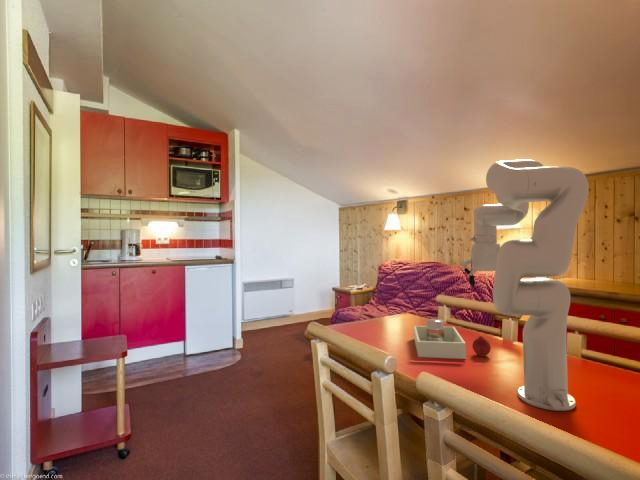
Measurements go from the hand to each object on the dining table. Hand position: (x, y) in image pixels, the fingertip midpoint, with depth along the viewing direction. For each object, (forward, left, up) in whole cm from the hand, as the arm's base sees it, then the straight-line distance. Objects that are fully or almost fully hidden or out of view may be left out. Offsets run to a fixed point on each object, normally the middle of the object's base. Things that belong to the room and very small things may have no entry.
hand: (486, 286), depth 128 cm
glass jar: (+6, +18, -24) cm, 30 cm away
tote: (0, +18, -24) cm, 30 cm away
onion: (-7, +4, -25) cm, 26 cm away
